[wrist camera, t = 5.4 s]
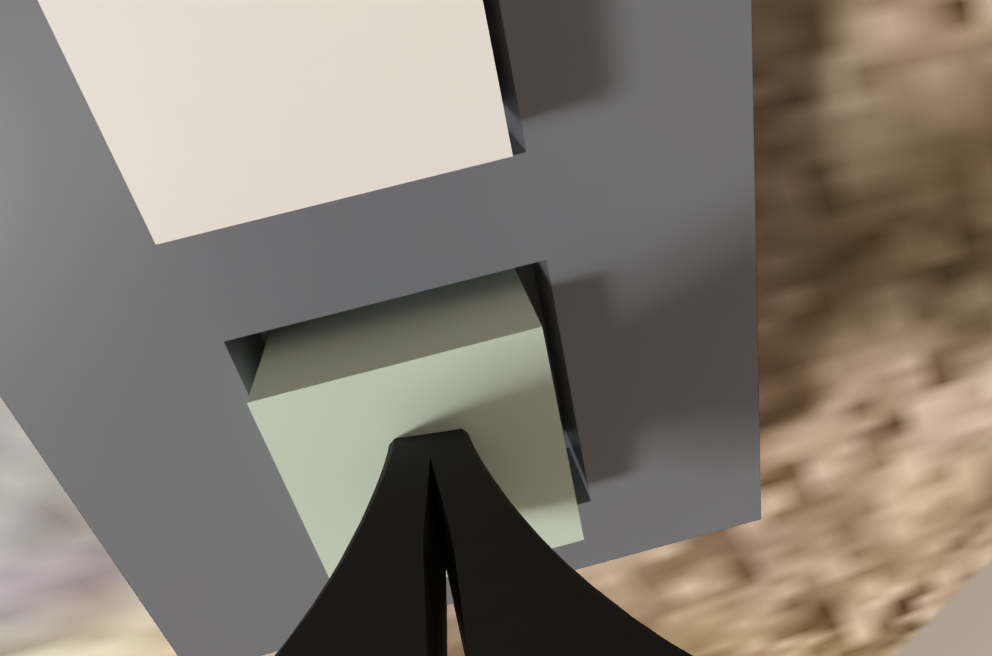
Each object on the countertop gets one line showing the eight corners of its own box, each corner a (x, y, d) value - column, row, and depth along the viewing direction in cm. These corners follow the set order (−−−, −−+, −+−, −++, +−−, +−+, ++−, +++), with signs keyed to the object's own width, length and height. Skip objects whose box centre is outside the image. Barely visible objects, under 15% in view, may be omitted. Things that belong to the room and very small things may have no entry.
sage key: (348, 502, 16) (341, 605, 13) (273, 322, 13) (246, 403, 11) (551, 448, 16) (583, 539, 13) (511, 261, 14) (542, 326, 11)
